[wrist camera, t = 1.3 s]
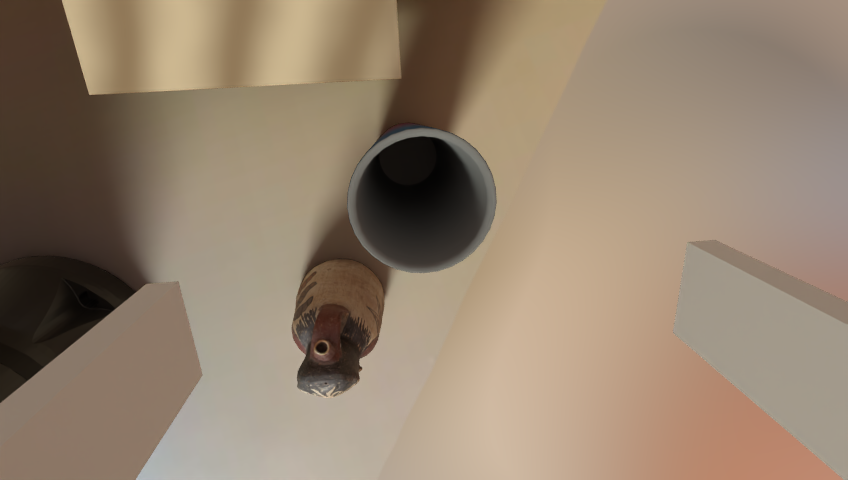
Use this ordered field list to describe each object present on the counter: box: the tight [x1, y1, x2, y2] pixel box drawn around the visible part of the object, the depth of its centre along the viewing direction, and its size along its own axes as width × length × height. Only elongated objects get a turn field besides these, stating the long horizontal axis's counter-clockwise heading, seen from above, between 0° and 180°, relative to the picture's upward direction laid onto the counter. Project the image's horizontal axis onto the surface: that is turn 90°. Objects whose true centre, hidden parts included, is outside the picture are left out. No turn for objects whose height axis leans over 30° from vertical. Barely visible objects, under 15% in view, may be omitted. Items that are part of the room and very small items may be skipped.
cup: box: [347, 123, 496, 273], centre depth 27 cm, size 7×7×15 cm
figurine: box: [292, 259, 384, 398], centre depth 32 cm, size 7×7×12 cm
